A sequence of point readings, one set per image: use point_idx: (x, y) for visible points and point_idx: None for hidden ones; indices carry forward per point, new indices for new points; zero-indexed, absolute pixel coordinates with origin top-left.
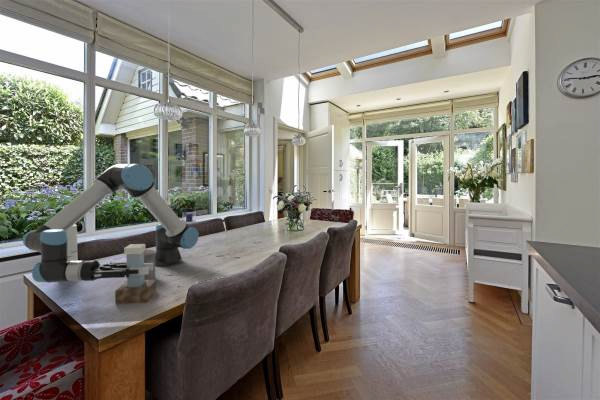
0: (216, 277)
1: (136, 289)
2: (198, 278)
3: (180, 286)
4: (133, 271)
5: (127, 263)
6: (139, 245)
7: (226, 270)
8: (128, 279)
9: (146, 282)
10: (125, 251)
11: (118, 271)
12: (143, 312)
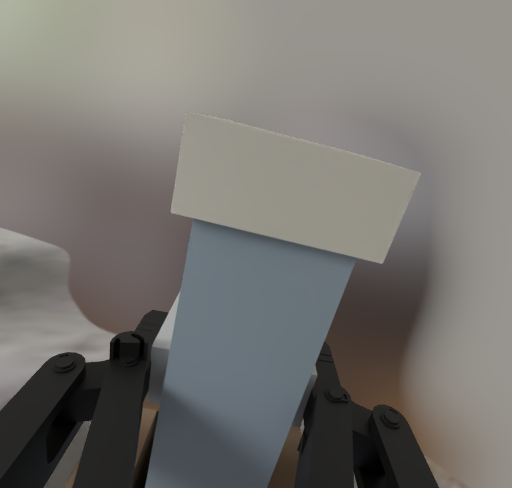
0: (68, 260)
1: (296, 453)
2: (28, 292)
3: (87, 343)
4: (330, 367)
5: (316, 353)
6: (271, 131)
7: (12, 236)
8: (266, 477)
9: (154, 417)
10: (393, 218)
11: (425, 464)
12: None
